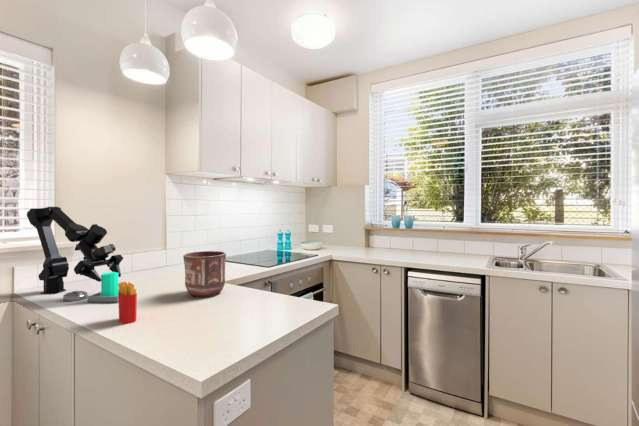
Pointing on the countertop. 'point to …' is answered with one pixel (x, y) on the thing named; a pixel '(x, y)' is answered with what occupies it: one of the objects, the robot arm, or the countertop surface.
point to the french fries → (127, 302)
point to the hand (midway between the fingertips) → (110, 278)
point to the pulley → (75, 296)
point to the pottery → (204, 273)
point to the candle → (109, 284)
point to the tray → (102, 298)
